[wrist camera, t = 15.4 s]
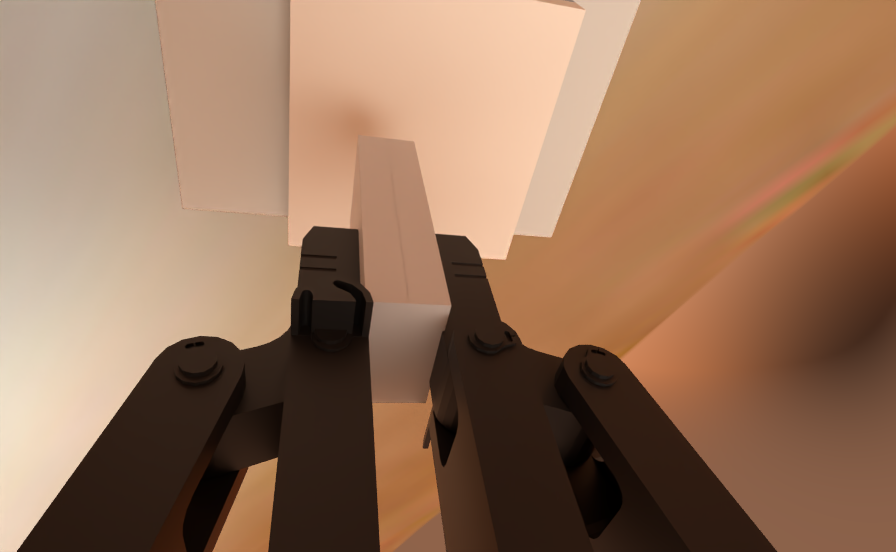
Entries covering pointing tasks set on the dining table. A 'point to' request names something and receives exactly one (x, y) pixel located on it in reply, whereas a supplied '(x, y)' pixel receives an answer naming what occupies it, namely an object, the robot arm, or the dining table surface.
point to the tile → (426, 104)
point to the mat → (268, 96)
